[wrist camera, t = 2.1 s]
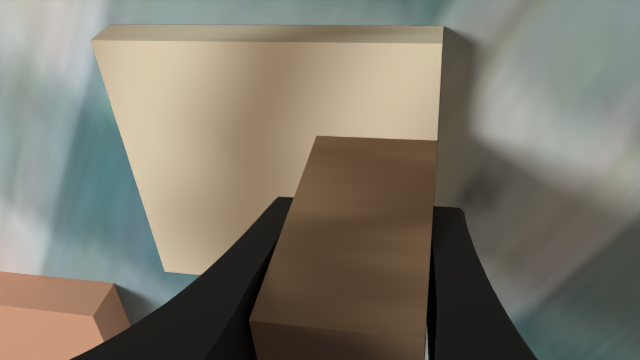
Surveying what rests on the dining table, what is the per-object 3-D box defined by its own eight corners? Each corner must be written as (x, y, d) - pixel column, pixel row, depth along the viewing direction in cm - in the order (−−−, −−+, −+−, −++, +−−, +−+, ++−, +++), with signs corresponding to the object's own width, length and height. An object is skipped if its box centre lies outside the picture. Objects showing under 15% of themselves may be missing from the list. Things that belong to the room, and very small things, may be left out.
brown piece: (443, 26, 14) (431, 222, 8) (430, 271, 18) (416, 501, 13) (109, 24, 15) (-91, 186, 10) (176, 250, 20) (67, 445, 14)
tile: (156, 372, 26) (135, 413, 24) (34, 355, 27) (8, 394, 25) (119, 275, 22) (92, 316, 20) (-19, 260, 23) (-54, 298, 22)
